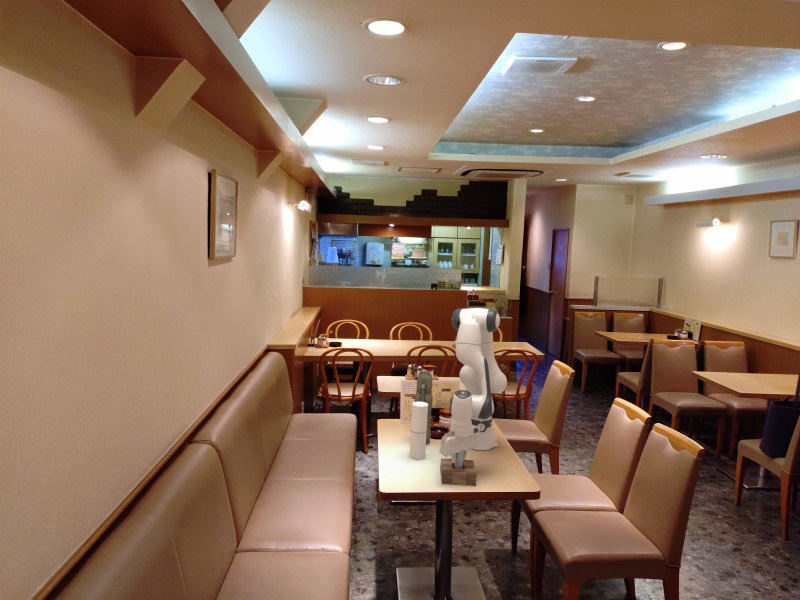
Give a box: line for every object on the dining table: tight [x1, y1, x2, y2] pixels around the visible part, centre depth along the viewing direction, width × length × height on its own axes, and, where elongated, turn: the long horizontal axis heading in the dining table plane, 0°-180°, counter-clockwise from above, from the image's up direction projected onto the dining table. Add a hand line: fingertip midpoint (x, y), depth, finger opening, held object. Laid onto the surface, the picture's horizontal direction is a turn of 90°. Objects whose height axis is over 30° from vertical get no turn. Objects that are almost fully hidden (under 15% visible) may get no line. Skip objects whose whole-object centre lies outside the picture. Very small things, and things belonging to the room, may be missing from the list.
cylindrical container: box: [409, 401, 428, 461], centre depth 248 cm, size 7×7×25 cm
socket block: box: [439, 458, 478, 487], centre depth 230 cm, size 14×14×5 cm
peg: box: [454, 450, 464, 469], centre depth 229 cm, size 4×4×12 cm
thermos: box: [414, 370, 433, 446], centre depth 266 cm, size 9×12×35 cm
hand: (458, 461), depth 229 cm, fingers open, 4 cm apart
